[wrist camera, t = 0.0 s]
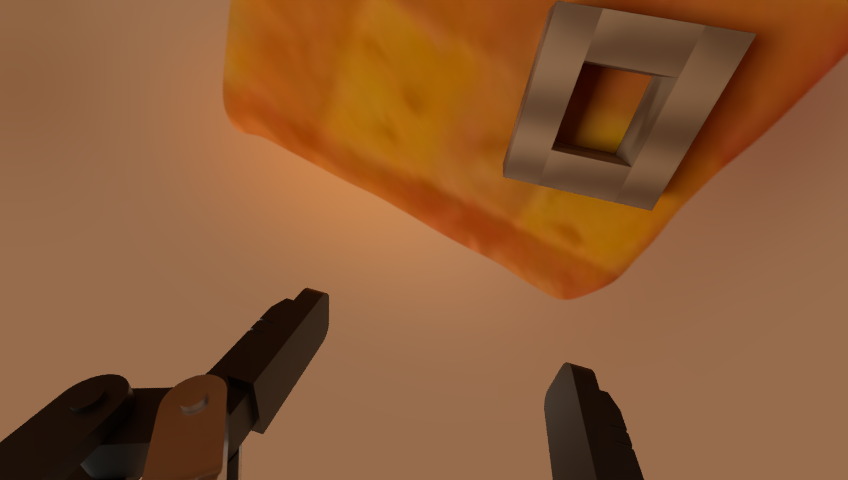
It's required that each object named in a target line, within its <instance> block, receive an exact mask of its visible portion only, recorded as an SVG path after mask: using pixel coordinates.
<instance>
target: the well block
mask: <svg viewBox="0 0 848 480" xmlns="http://www.w3.org/2000/svg"><path fill="white" fill-rule="evenodd" d="M755 36H756V34H755V33H749V32H743V31H737V30H731V29H725V28H719V27H713V26H707V25H701V24H695V23H689V22H683V21H677V20H671V19H665V18H659V17H653V16H647V15H641V14H635V13H629V12H623V11H617V10H611V9H605V8H599V7H593V6H586V5H580V4H574V3H568V2H562V1H556V3H555V4H554V5H553V6H552V7H551V9H550V10H549V12H548V15H547V19H546V22H545V25H544V29H543V32H542V35H541V39H540V42H539V45H538V49H537V52H536V55H535V59H534V62H533V65H532V69H531V72H530V75H529V79H528V82H527V86H526V89H525V92H524V96H523V99H522V102H521V106H520V109H519V112H518V116H517V119H516V122H515V126H514V129H513V132H512V136H511V139H510V142H509V146H508V149H507V152H506V156H505V159H504V162H503V177H506V178H510V179H515V180H519V181H523V182H528V183H532V184H537V185H541V186H545V187H550V188H554V189H558V190H563V191H567V192H572V193H576V194H580V195H585V196H589V197H594V198H598V199H602V200H607V201H611V202H615V203H620V204H624V205H629V206H633V207H637V208H642V209H646V210H651V211H652V209H653V208H654V206H655V204H656V203H657V201H658V199H659V198H660V196H661V194H662V193H663V191H664V189H665V187H666V186H667V184H668V182H669V181H670V179H671V177H672V176H673V174H674V172H675V171H676V169H677V167H678V166H679V164H680V162H681V161H682V159H683V157H684V156H685V154H686V152H687V150H688V149H689V147H690V145H691V144H692V142H693V140H694V139H695V137H696V135H697V134H698V132H699V130H700V129H701V127H702V125H703V124H704V122H705V120H706V119H707V117H708V115H709V113H710V112H711V110H712V108H713V107H714V105H715V103H716V102H717V100H718V98H719V97H720V95H721V93H722V92H723V90H724V88H725V87H726V85H727V83H728V82H729V80H730V78H731V76H732V75H733V73H734V71H735V70H736V68H737V66H738V65H739V63H740V61H741V60H742V58H743V56H744V55H745V53H746V51H747V50H748V48H749V46H750V45H751V43H752V41H753V39H754V38H755ZM583 63H585V64H590V65H595V66H601V67H606V68H612V69H617V70H622V71H628V72H633V73H639V74H644V75H649V76H653V77H652V79H651V81H650V83H649V85H648V87H647V90H646V92H645V94H644V96H643V98H642V100H641V102H640V104H639V106H638V108H637V110H636V112H635V115H634V117H633V119H632V121H631V123H630V125H629V127H628V129H627V131H626V133H625V135H624V138H623V140H622V142H621V144H620V146H619V148H618V150H617V152H616V154H611V153H607V152H602V151H597V150H592V149H588V148H583V147H578V146H574V145H569V144H564V143H560V142H555V141H554V140H555V138H556V135H557V132H558V129H559V127H560V124H561V121H562V119H563V116H564V113H565V111H566V108H567V105H568V102H569V100H570V97H571V94H572V92H573V89H574V86H575V84H576V81H577V78H578V76H579V73H580V70H581V67H582V65H583Z"/></svg>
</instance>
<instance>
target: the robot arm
mask: <svg viewBox="0 0 848 480" xmlns="http://www.w3.org/2000/svg"><path fill="white" fill-rule="evenodd" d="M328 326H329V295H328V294H327V293H324V292H320V291H316V290H313V289H309V288H305V289H304V290H303V291H302V292H301V293H300V294H299V295H298V296H297V297H296V298H295V299H294V300H290V299H287V298H286V299H284V300H283V301H281V302H279V303H277V304H275V305H274V306H272V307H271V308H270V309H269V310H268V311H267V312H266V313H265V314H264V315H263V316H262V317H261V318H260V320H259V321H257V322H256V323H255V324H254V325H253V326H252V327H251V330H250V331H248V332H247V333H246V334H245V335H244V336H243V337H242V338H241V339H240V340H239V341H238V342H237V343H236V344H235V345H234V346H233V347H232V348H231V349H230V350H229V351H228V352H227V353H226V354H225V355H224V356H223V358H222V359H221V360H220V361H219V362H218V363H217V364H216V365H215V366H214V367H213V368H212V369H211V370H210V371H209V372H207V373H206V374H205V375H198V376H194V377H191V378H189V379H186V380H184V381H182V382H181V383H179V384H177V385H176V386H175V387H171V388H135V389H134V388H131V387H130V385H129V383H128V381H127V380H126V379H125V378H124V377H122V376H120V375H114V374H107V375H100V376H96V377H93V378H89V379H87V380H84V381H82V382H80V383H78V384H76V385H74V386H72V387H71V388H69V389H67V390H66V391H65V392H63V393H62V394H61V395H60V396H58V397H57V398H56V399H54V400H53V401H52V402H51V403H49V404H48V405H47V406H46V407H44V408H43V409H42V410H41V411H39V412H38V413H37V414H35V415H34V416H33V417H32V418H30V419H29V420H28V421H27V422H26V423H24V424H23V425H22V426H20V427H19V428H18V429H17V430H15V431H14V432H13V433H12V434H10V435H9V436H8V437H6V438H5V439H4V440H3V441H1V442H0V480H139V479H140V478H141V477H142V480H241V458H242V457H241V456H242V445H241V444H242V442H243V441H244V439H245V438H246V436H247V435H248V434H249V432H250V431H251V430H252V431H255V432H258V433H261V434H263V433H264V432H265V430H266V429H267V427H268V426H269V424H270V423H271V421H272V419H273V418H274V416H275V415H276V413H277V412H278V410H279V409H280V407H281V406H282V404H283V403H284V401H285V400H286V398H287V397H288V395H289V393H290V392H291V390H292V388H293V387H294V386H295V384H296V383H297V381H298V380H299V378H300V377H301V375H302V373H303V372H304V370H305V369H306V367H307V366H308V364H309V362H310V361H311V360H312V358H313V356H314V355H315V353H316V352H317V350H318V349H319V347H320V346H321V344H322V343H323V341H324V339H325V337H326V334H327V331H328ZM544 411H545V419H546V427H547V436H548V443H549V452H550V460H551V468H552V477H553V480H644V478H643V475H642V472H641V470H640V467H639V464H638V461H637V458H636V455H635V452H634V450H633V449H632V443H631V440H630V437H629V434H628V433H627V432H626V430H627V429H626V426H625V423H624V420H623V417H622V414H621V411H620V409H619V408H618V406H617V405H616V404H615V402H614V401H613V399H612V398H611V396H610V395H609V394H608V392H605V391H601V390H599V386H598V383H597V380H596V376H595V373H594V372H593V370H591V369H588V368H584V367H581V366H578V365H574V364H571V363H567V362H566V363H564V364H563V366H562V367H561V369H560V371H559V372H558V374H557V376H556V377H555V379H554V380H553V382H552V384H551V386H550V387H549V389H548V391H547V393H546V397H545V405H544Z"/></svg>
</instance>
